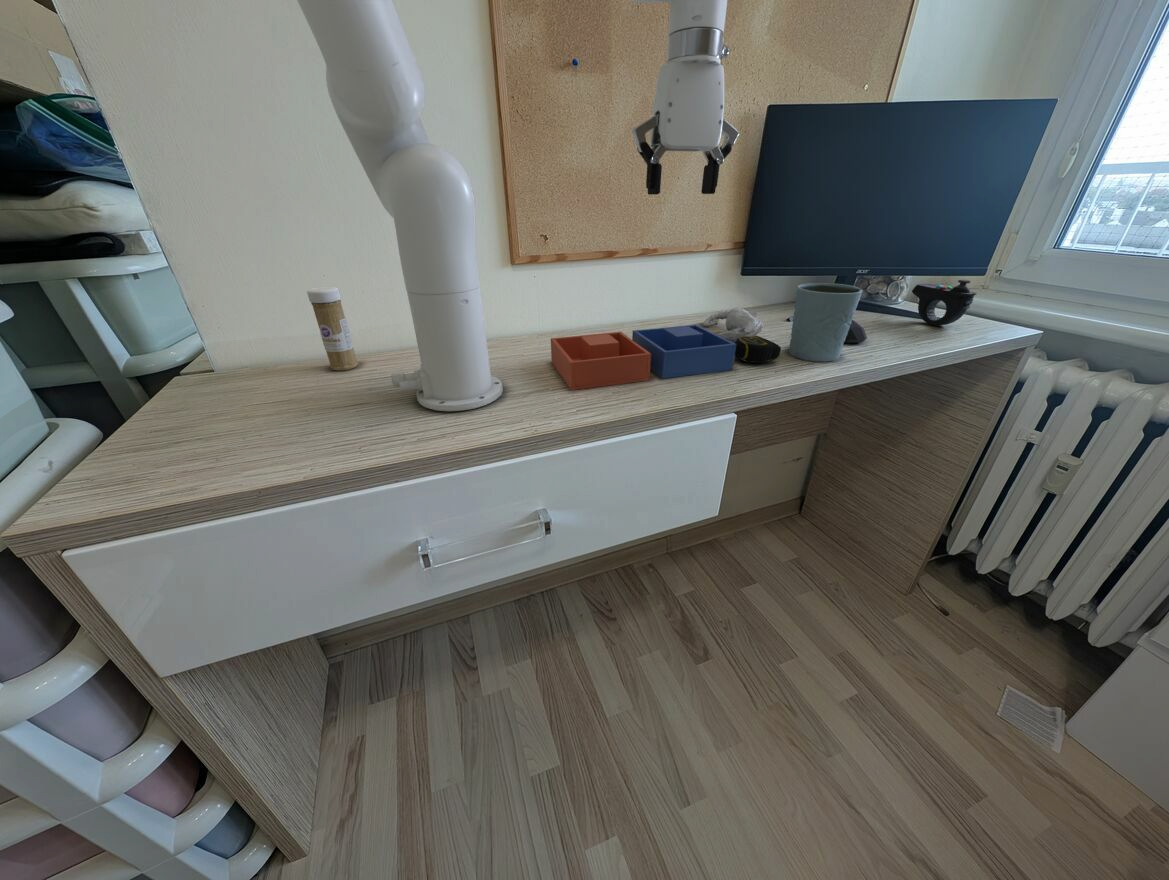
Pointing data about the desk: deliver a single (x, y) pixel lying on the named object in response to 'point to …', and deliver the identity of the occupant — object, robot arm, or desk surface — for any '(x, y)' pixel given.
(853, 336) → the gaming mouse
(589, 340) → the terracotta block
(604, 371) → the terracotta bin
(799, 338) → the grey-green cup
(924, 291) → the controller
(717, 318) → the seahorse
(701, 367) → the blue bin
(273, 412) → the desk surface
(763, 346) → the tape measure
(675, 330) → the blue block
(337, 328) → the sprinkles bottle
